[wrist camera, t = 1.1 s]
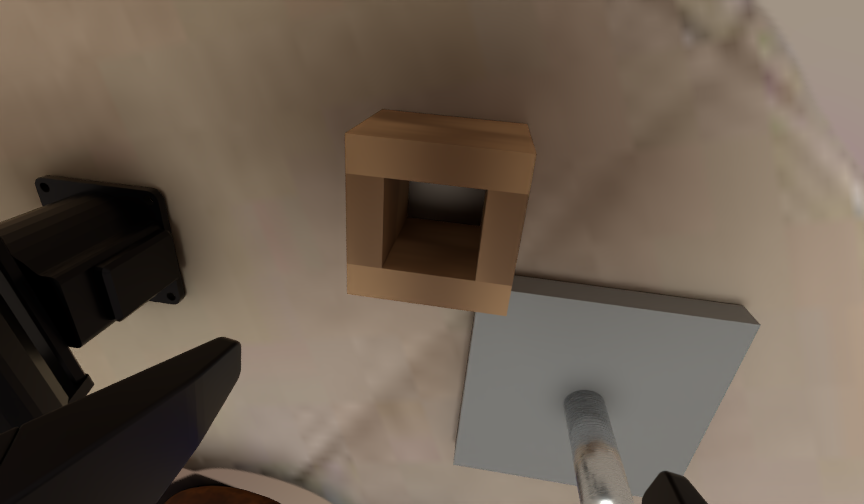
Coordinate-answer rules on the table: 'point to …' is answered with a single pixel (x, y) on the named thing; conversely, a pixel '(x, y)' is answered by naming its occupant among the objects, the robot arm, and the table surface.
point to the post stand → (596, 385)
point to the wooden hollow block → (428, 239)
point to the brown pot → (218, 496)
